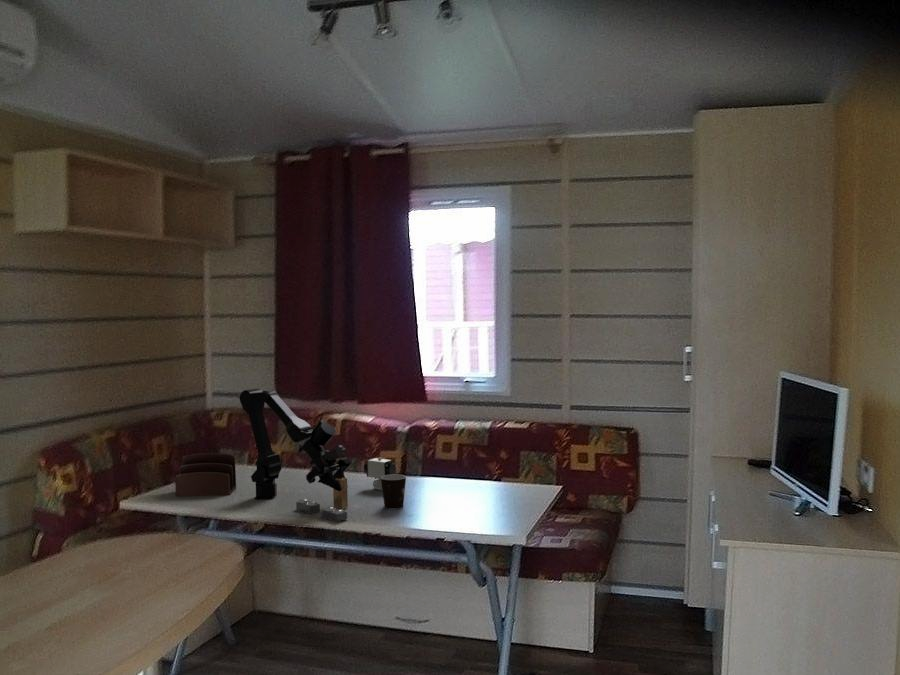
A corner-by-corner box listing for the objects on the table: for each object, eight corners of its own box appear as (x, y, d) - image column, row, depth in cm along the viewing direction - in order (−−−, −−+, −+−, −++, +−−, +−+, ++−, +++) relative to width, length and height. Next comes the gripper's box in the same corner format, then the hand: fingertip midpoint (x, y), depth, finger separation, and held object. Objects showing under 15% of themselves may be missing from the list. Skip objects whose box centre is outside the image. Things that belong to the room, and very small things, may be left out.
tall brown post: (333, 508, 266) (333, 479, 265) (339, 506, 269) (338, 477, 268) (341, 509, 264) (341, 480, 264) (347, 507, 267) (347, 478, 266)
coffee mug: (392, 501, 274) (391, 473, 273) (411, 505, 269) (411, 476, 268) (370, 509, 264) (369, 479, 264) (389, 513, 259) (389, 482, 259)
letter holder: (183, 490, 296) (182, 453, 296) (236, 489, 297) (235, 452, 296) (175, 497, 286) (173, 458, 286) (230, 495, 287) (229, 457, 286)
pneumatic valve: (389, 492, 287) (388, 459, 287) (363, 488, 294) (363, 456, 293) (398, 489, 292) (397, 457, 292) (372, 485, 298) (372, 454, 298)
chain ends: (296, 509, 266) (296, 500, 265) (306, 507, 268) (306, 497, 268) (336, 522, 249) (336, 512, 249) (347, 519, 252) (346, 510, 252)
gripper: (312, 443, 259) (339, 479, 254) (346, 434, 275) (373, 468, 270) (294, 464, 264) (321, 501, 259) (329, 455, 280) (355, 489, 275)
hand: (343, 489), depth 265 cm, fingers closed on tall brown post, 3 cm apart
